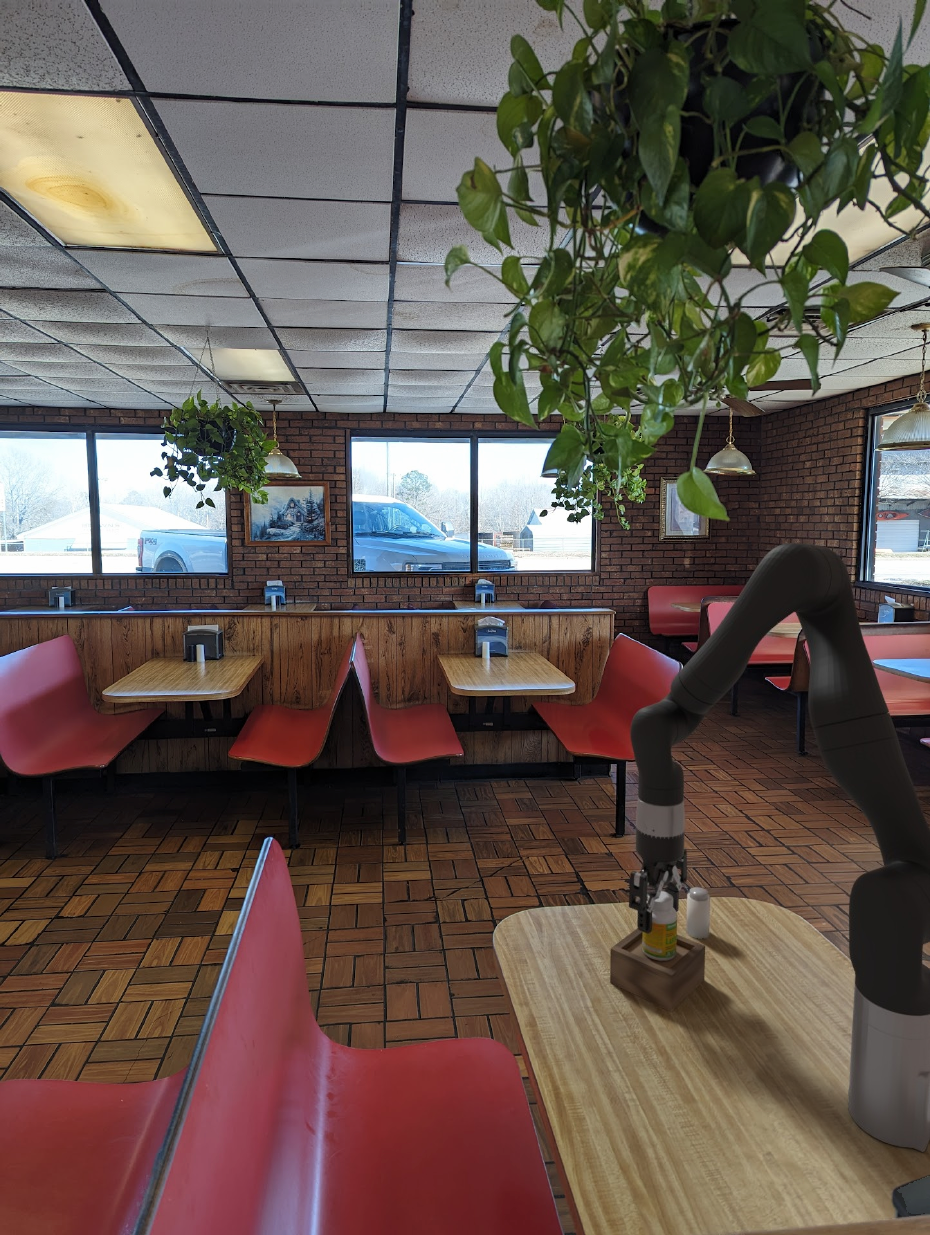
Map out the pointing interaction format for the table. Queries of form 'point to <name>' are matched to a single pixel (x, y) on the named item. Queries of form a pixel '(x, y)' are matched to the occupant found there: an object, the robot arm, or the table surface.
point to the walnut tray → (657, 970)
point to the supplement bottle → (662, 930)
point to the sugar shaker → (698, 913)
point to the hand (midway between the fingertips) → (658, 920)
